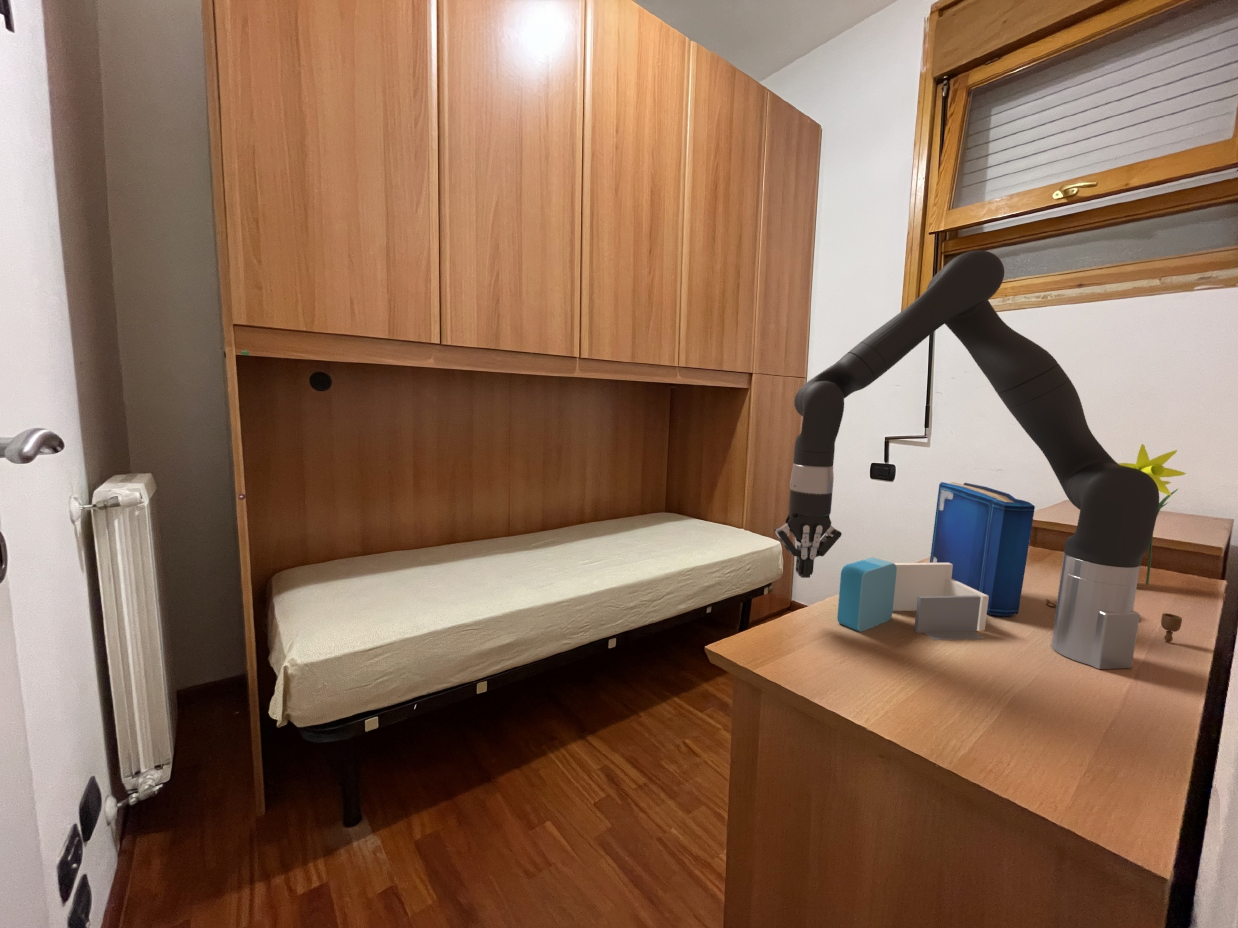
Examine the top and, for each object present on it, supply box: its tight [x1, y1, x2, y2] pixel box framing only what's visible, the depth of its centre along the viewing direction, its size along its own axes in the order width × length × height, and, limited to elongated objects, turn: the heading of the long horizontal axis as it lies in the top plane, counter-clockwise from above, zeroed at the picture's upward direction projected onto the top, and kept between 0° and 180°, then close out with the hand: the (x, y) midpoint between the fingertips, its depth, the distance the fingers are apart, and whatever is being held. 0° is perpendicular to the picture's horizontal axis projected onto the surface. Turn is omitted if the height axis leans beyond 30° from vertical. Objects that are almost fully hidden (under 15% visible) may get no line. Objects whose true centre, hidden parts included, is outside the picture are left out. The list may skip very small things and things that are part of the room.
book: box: [929, 481, 1036, 617], centre depth 108 cm, size 22×7×25 cm, turn 179°
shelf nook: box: [893, 562, 989, 641], centre depth 96 cm, size 14×14×10 cm
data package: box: [836, 557, 897, 633], centre depth 96 cm, size 12×4×12 cm, turn 123°
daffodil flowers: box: [1117, 443, 1187, 586], centre depth 119 cm, size 17×15×35 cm
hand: (803, 576), depth 95 cm, fingers closed
